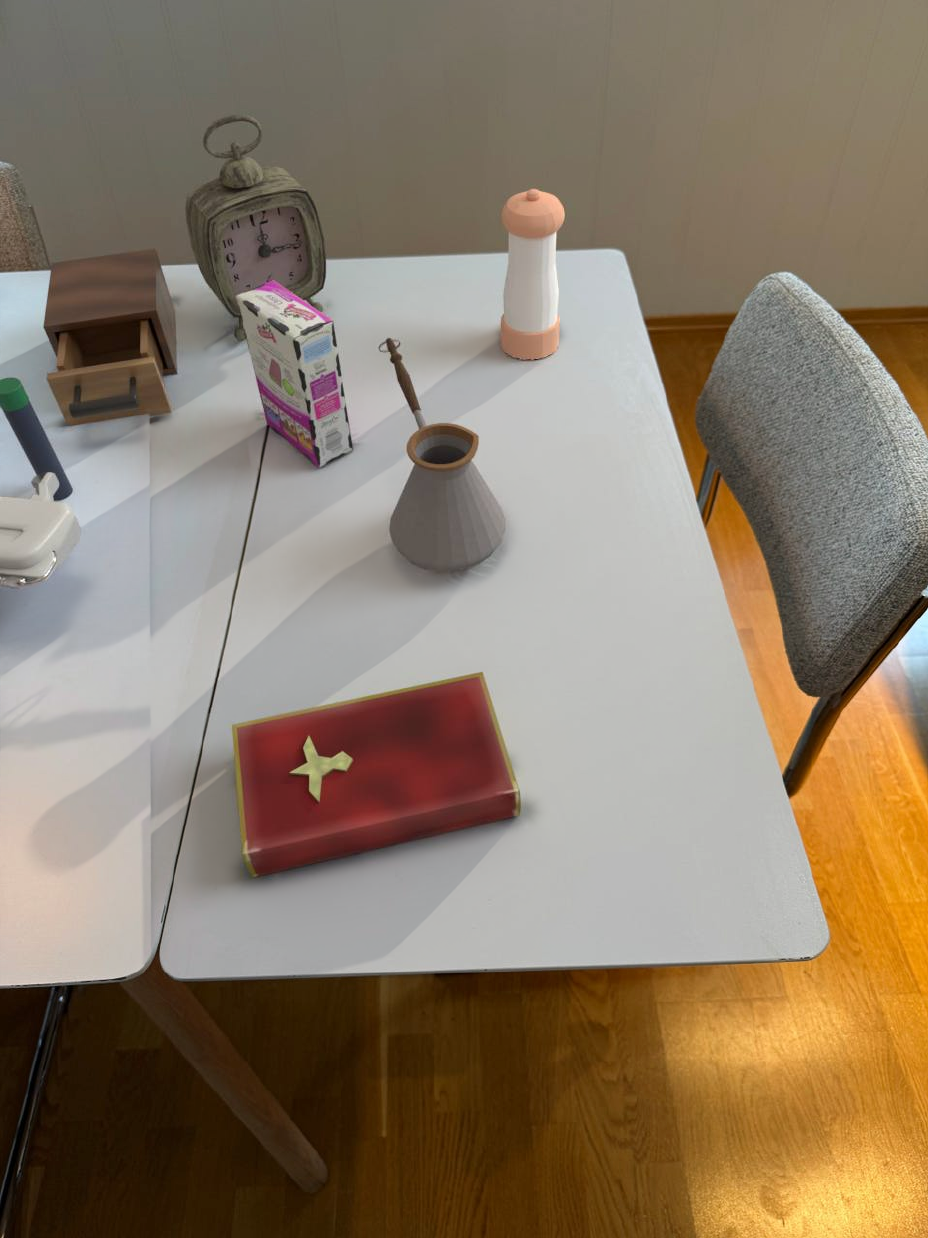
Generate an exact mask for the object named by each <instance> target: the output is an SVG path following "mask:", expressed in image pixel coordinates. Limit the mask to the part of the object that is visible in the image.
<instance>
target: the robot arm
mask: <svg viewBox="0 0 928 1238" xmlns="http://www.w3.org/2000/svg"><path fill="white" fill-rule="evenodd" d="M30 483H31V485H32V487H33V488H34V489H35V493H36V494H34V493H33V494H32V495H31V496H30V498H20V497H10V496H0V588H9V589H11V590H20V591H21V590H27V588H28V587H30V586H34V585H38V584H41V583H45V582H46V581H47V580H48V579H49V578H50V577H51V575H52V574H53V573H54V572H55V571H56V570H57V569H58V568H59V567H60V565H61V564H62V563H63V562H64V561H65V560H66V558H67V557H68V556H69V555H70V554H71V552H72V551H73V550H74V548H75V547H76V546H77V544H78V543H79V541H80V539H81V538H82V529H81V525H80V523H79V521H78V518H77V516H76V515H75V513H74V512H73V509H72V508H71V507H70V505H69V504H68V503H65V502H62V501H54V498H53V495H54V494H55V492H56V491H57V489H58V488H59V481H58V479H57V477H56V475H55V473H51V472H37V474H36V473H35V476H34V477H33V478H32V479H31V481H30Z"/></svg>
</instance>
